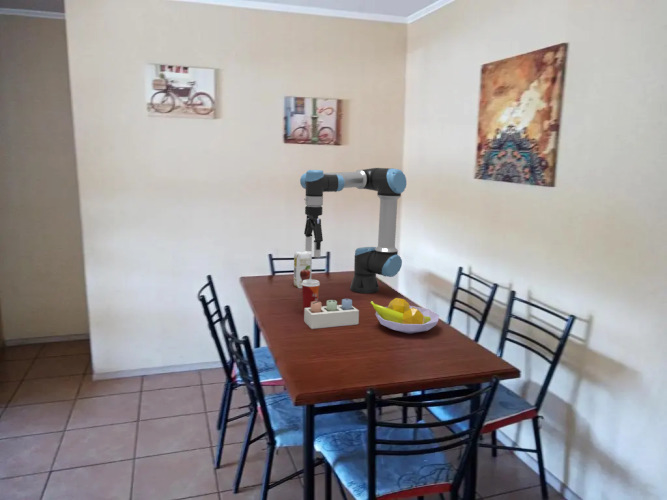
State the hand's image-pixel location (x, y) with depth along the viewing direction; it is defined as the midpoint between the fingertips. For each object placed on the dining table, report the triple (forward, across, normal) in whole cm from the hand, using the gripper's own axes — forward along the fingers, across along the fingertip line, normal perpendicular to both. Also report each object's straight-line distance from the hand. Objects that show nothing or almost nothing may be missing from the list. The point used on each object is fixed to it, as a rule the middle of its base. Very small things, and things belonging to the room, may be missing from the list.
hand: (312, 254), depth 226 cm
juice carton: (+27, -46, +9) cm, 55 cm away
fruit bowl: (+27, +28, +33) cm, 51 cm away
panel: (+27, +15, +5) cm, 31 cm away
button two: (+24, +15, +4) cm, 28 cm away
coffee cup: (+27, 0, 0) cm, 27 cm away
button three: (+24, +15, -2) cm, 28 cm away
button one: (+24, +14, +12) cm, 30 cm away
